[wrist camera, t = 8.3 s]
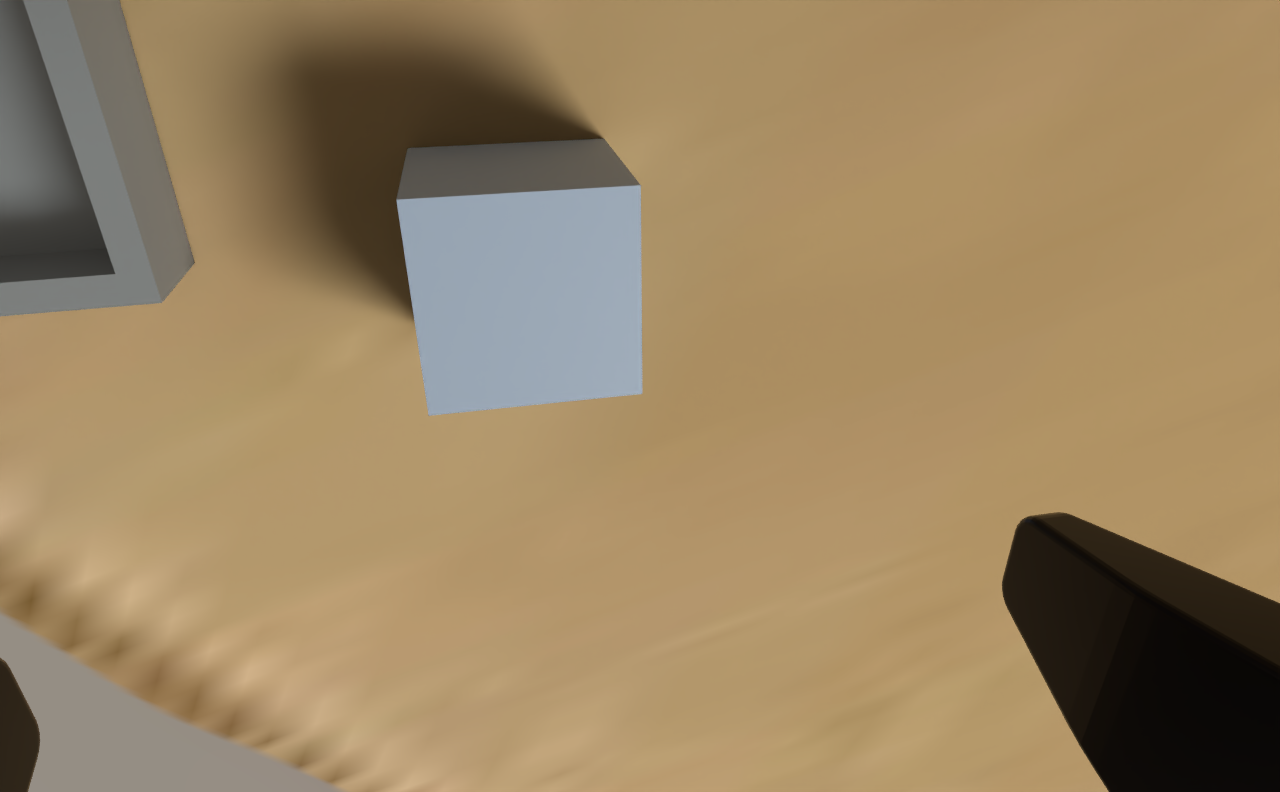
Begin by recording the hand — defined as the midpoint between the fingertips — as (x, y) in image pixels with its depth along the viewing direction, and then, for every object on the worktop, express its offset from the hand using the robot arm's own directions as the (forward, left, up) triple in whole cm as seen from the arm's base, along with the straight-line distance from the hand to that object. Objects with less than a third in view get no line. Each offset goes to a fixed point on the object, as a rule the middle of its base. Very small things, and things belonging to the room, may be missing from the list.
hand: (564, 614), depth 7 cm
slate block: (0, 0, -12) cm, 12 cm away
